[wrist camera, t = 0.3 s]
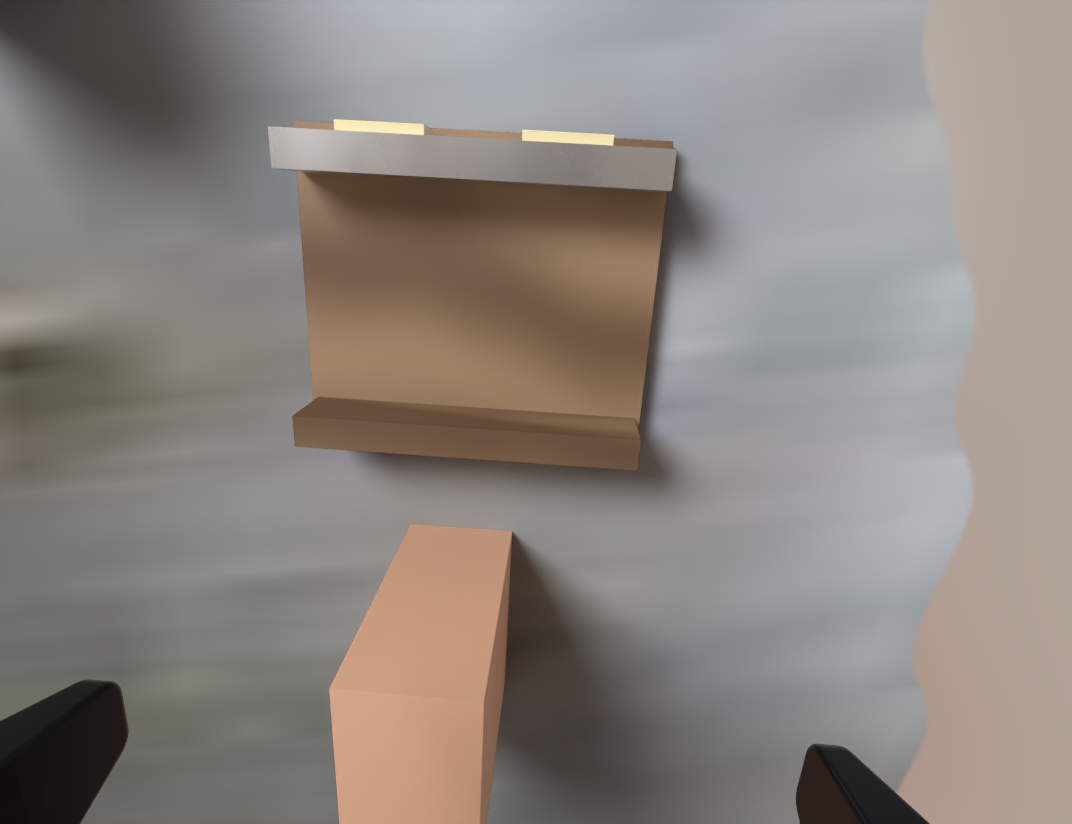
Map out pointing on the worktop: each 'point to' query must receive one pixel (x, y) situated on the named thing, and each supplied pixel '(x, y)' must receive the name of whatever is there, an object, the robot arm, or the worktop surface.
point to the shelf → (477, 288)
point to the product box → (425, 683)
